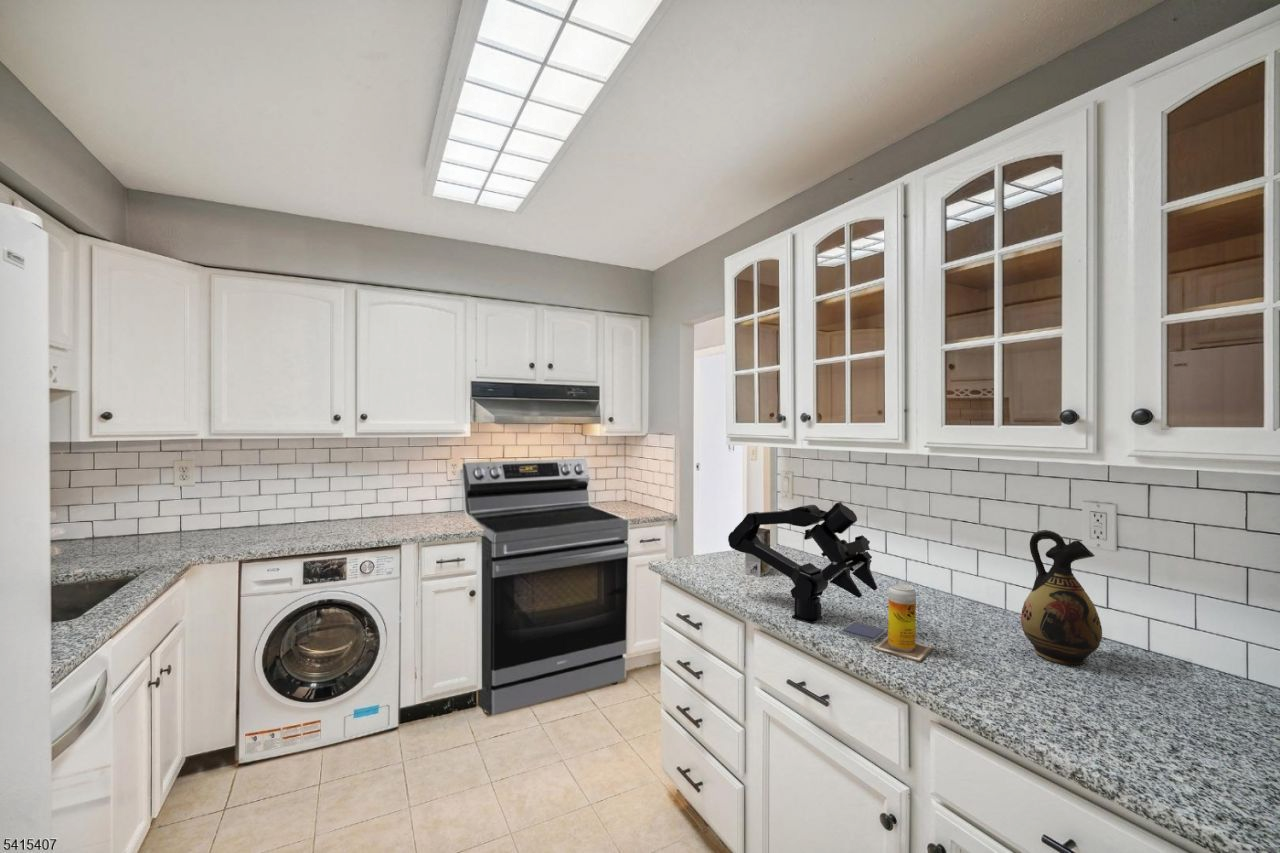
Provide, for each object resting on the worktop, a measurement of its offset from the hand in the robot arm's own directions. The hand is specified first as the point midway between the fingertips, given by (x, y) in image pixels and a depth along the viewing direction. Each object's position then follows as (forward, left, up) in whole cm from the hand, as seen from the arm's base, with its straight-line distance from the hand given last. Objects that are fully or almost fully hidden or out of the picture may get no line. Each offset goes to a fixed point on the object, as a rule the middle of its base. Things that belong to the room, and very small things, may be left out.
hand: (868, 593), depth 143 cm
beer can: (+9, -2, -11) cm, 15 cm away
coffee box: (-53, +33, -11) cm, 63 cm away
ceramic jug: (+37, +19, -11) cm, 44 cm away
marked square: (+9, -2, -11) cm, 15 cm away
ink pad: (-2, +1, -11) cm, 11 cm away
